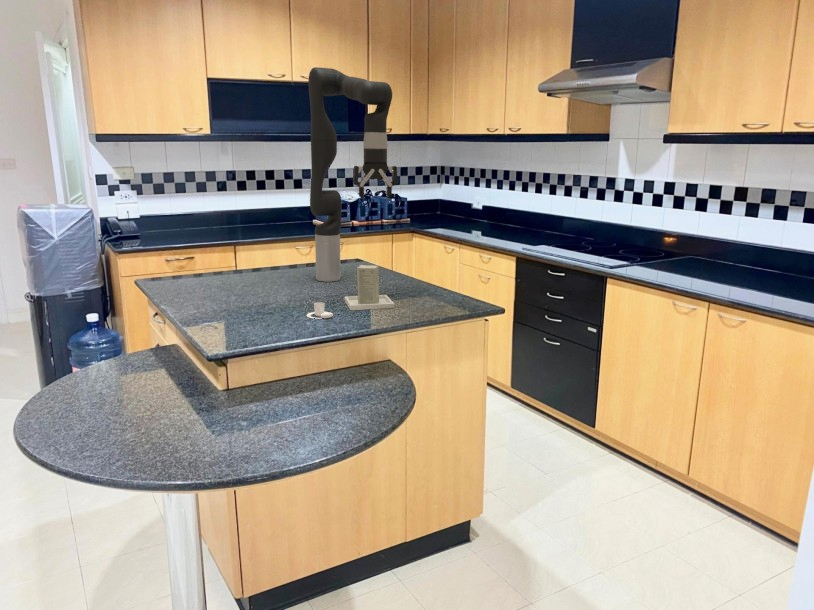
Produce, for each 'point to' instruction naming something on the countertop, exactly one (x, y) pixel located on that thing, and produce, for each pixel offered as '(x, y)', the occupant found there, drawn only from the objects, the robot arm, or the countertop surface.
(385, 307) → the tray
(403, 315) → the countertop surface
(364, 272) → the skincare box
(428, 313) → the countertop surface
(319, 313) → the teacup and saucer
